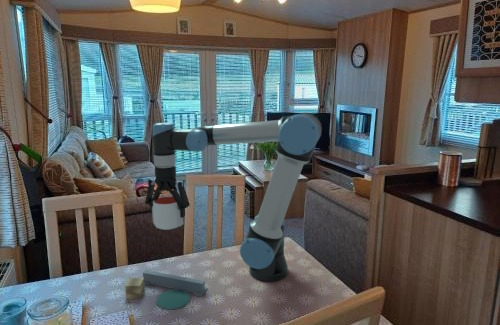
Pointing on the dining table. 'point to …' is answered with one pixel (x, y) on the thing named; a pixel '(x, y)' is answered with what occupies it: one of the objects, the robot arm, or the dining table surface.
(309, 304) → the dining table surface
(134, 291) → the oak block
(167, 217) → the cup
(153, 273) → the rail
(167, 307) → the coaster
